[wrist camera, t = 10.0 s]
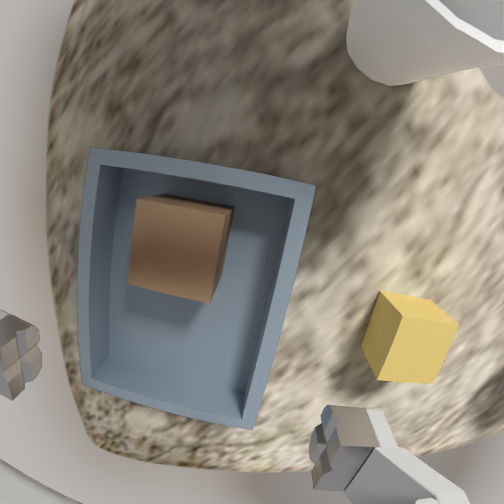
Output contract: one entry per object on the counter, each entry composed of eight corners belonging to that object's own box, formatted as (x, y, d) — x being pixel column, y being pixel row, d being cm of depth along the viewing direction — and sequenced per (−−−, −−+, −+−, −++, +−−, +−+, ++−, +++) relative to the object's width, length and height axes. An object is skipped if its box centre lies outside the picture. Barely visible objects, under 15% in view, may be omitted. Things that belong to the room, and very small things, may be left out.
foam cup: (344, 111, 21) (426, 47, 8) (309, 5, 19) (338, -110, 6) (451, 100, 20) (565, 64, 7) (415, 2, 18) (490, -76, 5)
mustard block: (379, 290, 24) (402, 316, 19) (430, 299, 24) (459, 324, 19) (360, 346, 25) (376, 380, 20) (410, 352, 25) (432, 383, 20)
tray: (119, 151, 22) (89, 147, 18) (306, 183, 22) (316, 185, 18) (103, 357, 26) (82, 383, 22) (254, 395, 26) (252, 430, 22)
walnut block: (164, 193, 22) (136, 198, 17) (234, 206, 22) (225, 215, 17) (154, 262, 23) (127, 284, 18) (221, 276, 23) (209, 303, 18)
